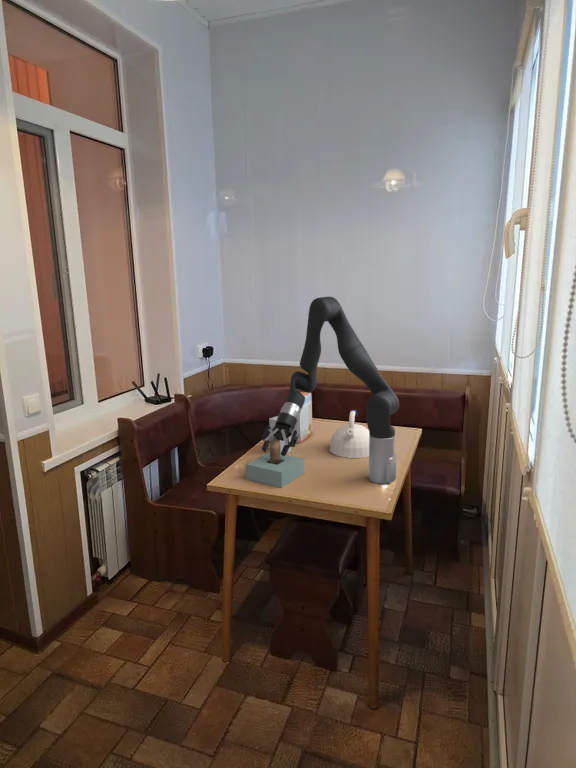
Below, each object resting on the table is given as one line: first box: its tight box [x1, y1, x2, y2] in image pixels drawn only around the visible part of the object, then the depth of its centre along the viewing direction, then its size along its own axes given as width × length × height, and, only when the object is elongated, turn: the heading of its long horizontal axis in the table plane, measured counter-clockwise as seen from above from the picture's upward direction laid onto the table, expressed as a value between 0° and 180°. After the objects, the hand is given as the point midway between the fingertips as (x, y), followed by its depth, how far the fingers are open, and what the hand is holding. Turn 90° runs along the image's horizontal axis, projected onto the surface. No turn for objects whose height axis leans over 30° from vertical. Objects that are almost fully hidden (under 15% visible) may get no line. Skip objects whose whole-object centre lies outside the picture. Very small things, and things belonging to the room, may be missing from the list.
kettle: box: [329, 409, 369, 459], centre depth 222 cm, size 20×21×18 cm
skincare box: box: [268, 415, 292, 454], centre depth 223 cm, size 8×6×15 cm
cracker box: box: [290, 391, 313, 444], centre depth 239 cm, size 14×6×21 cm, turn 154°
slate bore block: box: [245, 451, 305, 489], centre depth 196 cm, size 16×16×6 cm
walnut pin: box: [269, 440, 281, 465], centre depth 196 cm, size 4×4×13 cm
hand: (273, 453), depth 194 cm, fingers open, 8 cm apart
